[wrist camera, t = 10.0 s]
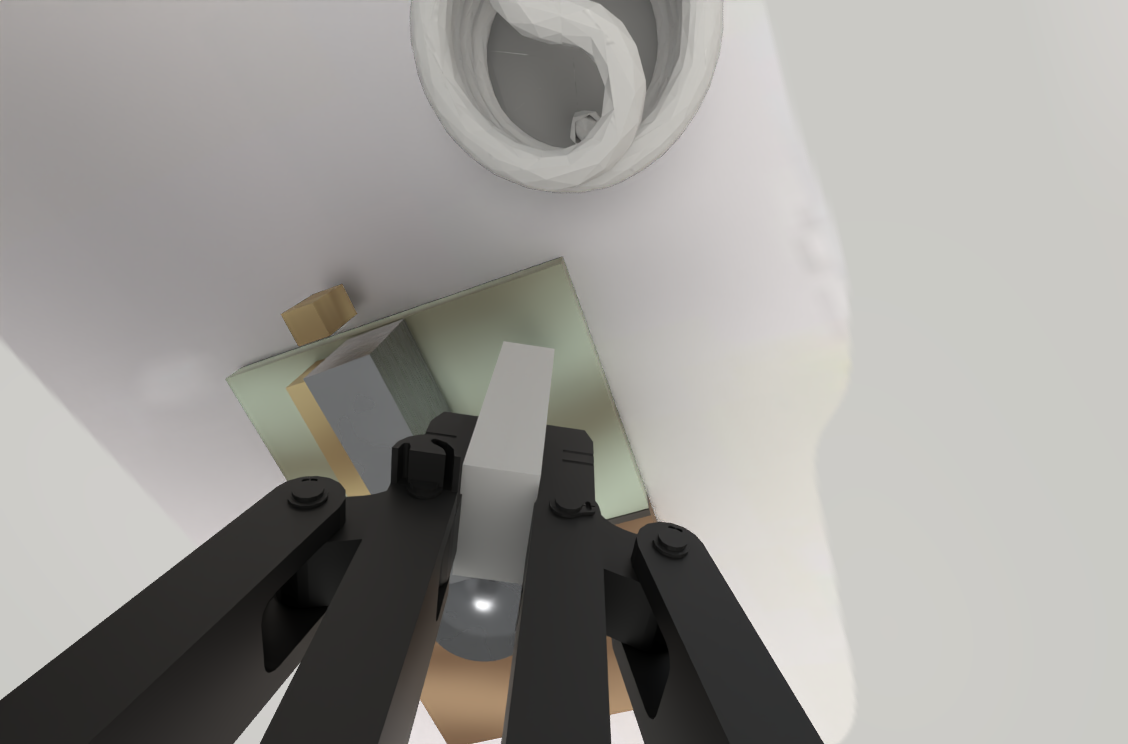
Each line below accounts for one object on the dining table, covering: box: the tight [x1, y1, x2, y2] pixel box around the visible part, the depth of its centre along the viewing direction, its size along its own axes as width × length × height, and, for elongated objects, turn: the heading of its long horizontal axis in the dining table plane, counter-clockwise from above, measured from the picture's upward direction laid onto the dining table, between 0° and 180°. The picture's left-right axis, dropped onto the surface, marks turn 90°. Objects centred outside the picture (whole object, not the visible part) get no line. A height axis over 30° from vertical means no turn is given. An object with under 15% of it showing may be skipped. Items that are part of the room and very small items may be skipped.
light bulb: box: [410, 0, 723, 193], centre depth 14 cm, size 6×6×12 cm
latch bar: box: [303, 319, 522, 662], centre depth 23 cm, size 13×4×4 cm, turn 21°
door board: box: [226, 257, 657, 744], centre depth 25 cm, size 24×14×4 cm, turn 20°
